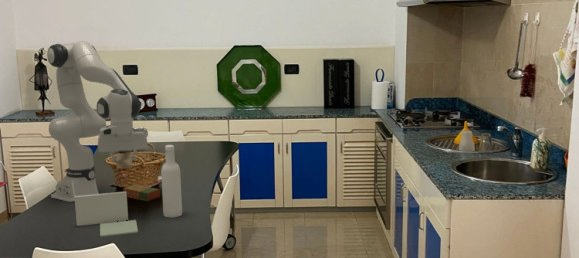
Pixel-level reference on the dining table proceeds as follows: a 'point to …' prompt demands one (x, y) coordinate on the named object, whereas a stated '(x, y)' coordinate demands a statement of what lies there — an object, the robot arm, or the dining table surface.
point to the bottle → (171, 185)
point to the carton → (142, 192)
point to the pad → (118, 228)
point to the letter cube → (123, 159)
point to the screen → (101, 208)
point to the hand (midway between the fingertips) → (123, 161)
